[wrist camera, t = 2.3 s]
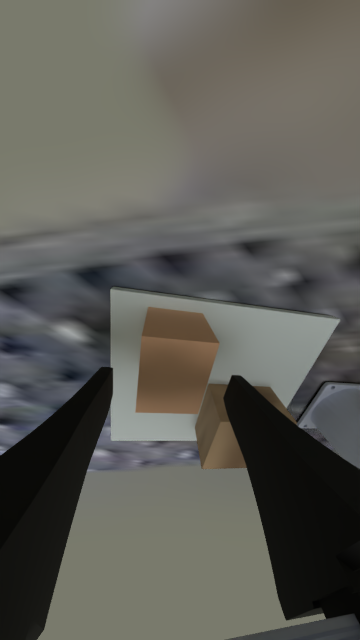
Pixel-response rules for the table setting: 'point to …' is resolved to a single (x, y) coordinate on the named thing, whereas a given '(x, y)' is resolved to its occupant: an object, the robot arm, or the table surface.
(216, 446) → the walnut block
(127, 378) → the baseplate
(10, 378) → the table surface
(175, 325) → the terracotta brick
